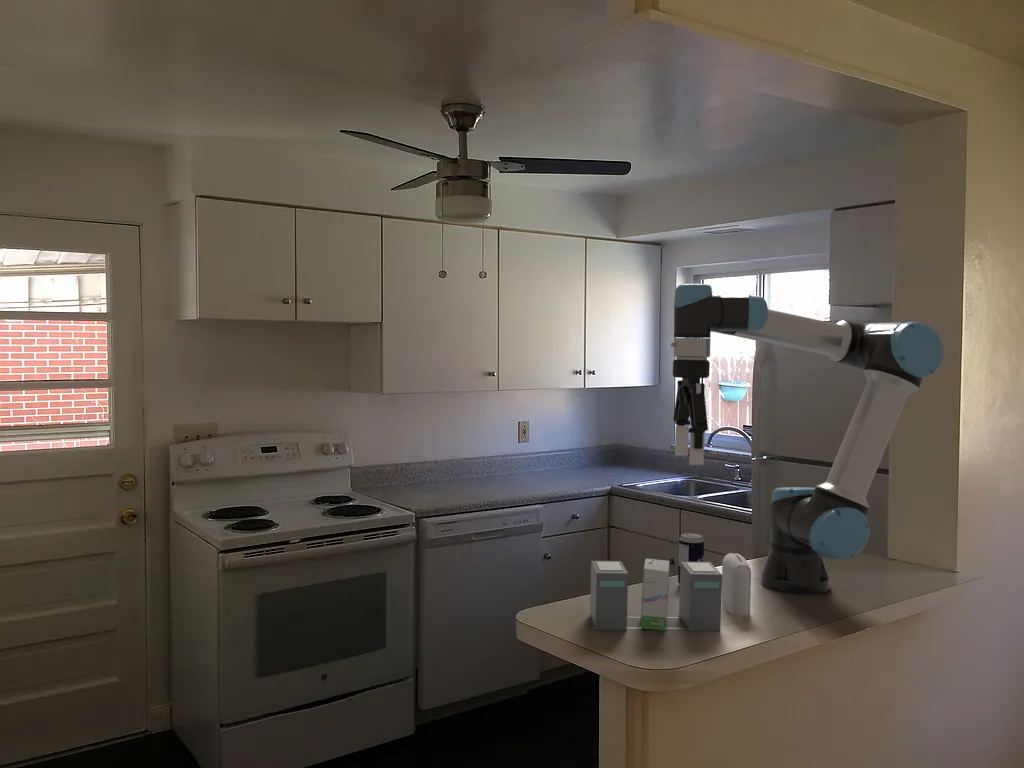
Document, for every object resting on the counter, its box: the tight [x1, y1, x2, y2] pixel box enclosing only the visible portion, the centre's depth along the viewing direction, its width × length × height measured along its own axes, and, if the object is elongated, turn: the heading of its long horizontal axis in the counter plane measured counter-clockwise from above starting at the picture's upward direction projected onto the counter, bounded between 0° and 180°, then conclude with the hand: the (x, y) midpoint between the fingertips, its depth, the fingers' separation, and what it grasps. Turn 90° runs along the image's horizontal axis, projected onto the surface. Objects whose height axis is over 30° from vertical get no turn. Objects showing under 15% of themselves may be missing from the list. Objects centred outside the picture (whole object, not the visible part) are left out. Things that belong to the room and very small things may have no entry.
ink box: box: [640, 558, 670, 632], centre depth 167 cm, size 9×5×12 cm, turn 169°
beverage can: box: [677, 532, 705, 585], centre depth 197 cm, size 6×6×12 cm
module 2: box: [678, 561, 722, 632], centre depth 168 cm, size 6×9×11 cm, turn 1°
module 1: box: [589, 560, 629, 631], centre depth 167 cm, size 6×9×11 cm, turn 1°
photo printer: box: [721, 552, 752, 617], centre depth 178 cm, size 10×4×12 cm, turn 0°
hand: (688, 460), depth 179 cm, fingers open, 13 cm apart
